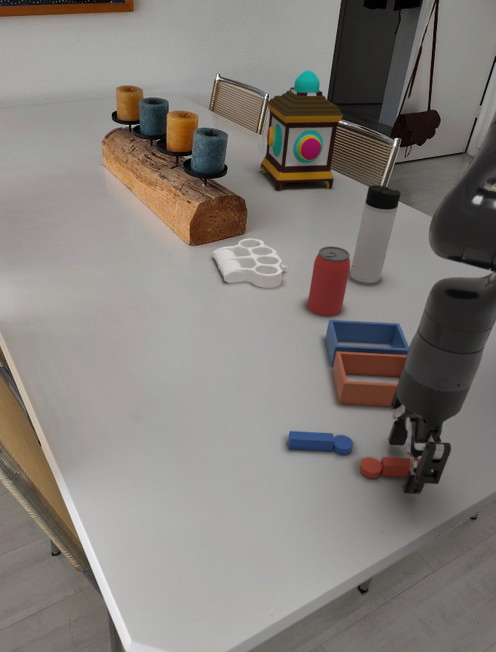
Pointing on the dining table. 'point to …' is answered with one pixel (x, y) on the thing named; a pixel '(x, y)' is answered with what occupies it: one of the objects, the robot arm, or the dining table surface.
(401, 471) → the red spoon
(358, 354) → the terracotta bin
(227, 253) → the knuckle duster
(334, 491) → the dining table surface
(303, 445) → the blue spoon
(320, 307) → the beer can
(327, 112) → the decorative lantern
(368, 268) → the travel mug
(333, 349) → the blue bin
